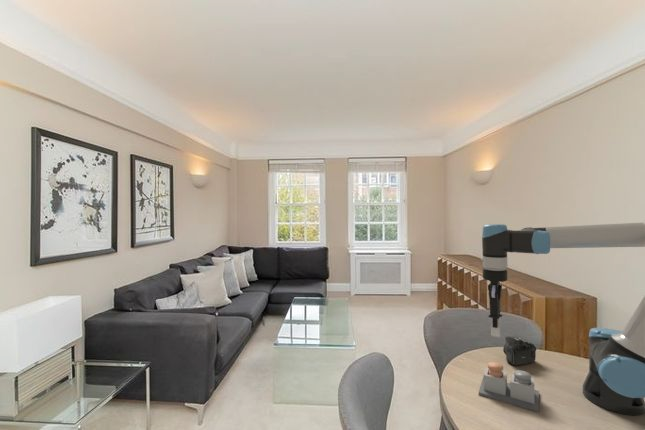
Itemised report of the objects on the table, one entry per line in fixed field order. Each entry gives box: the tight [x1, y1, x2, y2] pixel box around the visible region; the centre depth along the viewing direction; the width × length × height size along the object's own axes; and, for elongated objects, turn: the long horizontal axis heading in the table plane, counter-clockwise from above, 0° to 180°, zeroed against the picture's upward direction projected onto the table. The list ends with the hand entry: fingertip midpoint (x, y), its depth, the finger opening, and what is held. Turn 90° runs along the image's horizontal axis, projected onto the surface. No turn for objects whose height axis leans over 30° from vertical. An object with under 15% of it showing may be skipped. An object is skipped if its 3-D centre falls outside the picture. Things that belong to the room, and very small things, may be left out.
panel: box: [478, 366, 540, 413], centre depth 107 cm, size 17×12×6 cm
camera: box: [502, 335, 537, 367], centre depth 130 cm, size 13×10×10 cm
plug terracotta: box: [487, 361, 504, 378], centre depth 109 cm, size 5×5×6 cm
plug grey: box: [513, 369, 532, 385], centre depth 105 cm, size 5×5×6 cm
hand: (495, 335), depth 109 cm, fingers closed
